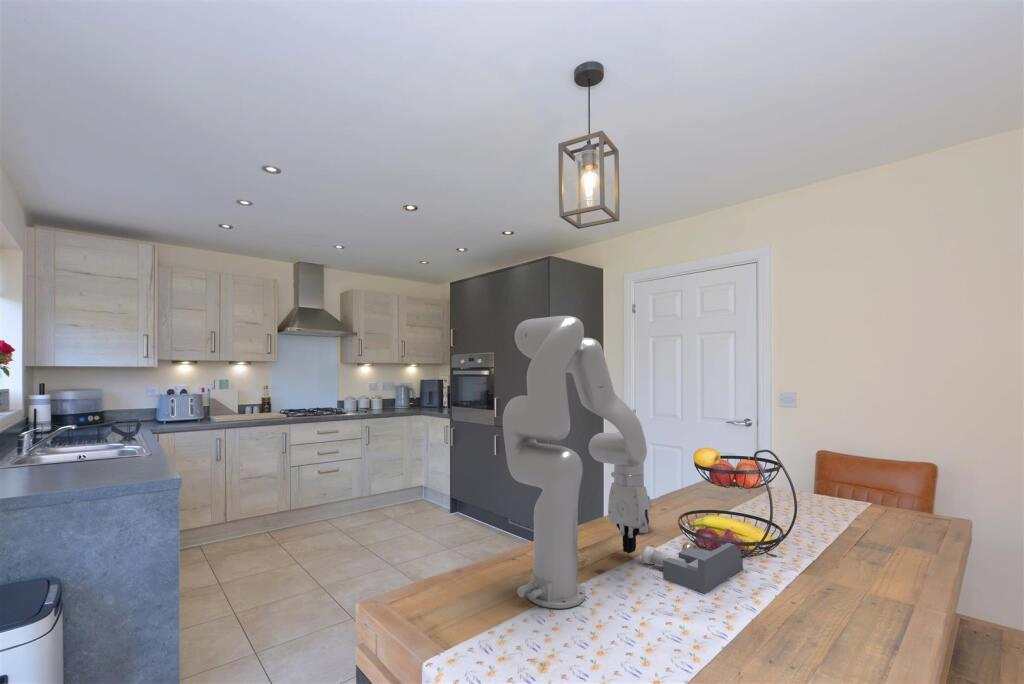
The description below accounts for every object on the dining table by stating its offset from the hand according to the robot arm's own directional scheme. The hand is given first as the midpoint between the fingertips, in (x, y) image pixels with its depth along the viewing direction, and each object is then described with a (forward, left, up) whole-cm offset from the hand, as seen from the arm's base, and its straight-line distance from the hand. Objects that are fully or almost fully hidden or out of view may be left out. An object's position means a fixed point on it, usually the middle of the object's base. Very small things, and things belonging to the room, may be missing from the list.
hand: (629, 551), depth 124 cm
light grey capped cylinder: (0, -10, -1) cm, 10 cm away
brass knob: (+10, -15, -1) cm, 18 cm away
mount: (+5, -18, -2) cm, 18 cm away
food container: (+22, +10, -2) cm, 24 cm away
